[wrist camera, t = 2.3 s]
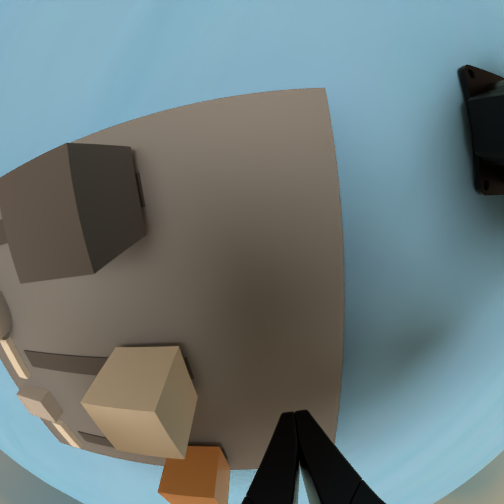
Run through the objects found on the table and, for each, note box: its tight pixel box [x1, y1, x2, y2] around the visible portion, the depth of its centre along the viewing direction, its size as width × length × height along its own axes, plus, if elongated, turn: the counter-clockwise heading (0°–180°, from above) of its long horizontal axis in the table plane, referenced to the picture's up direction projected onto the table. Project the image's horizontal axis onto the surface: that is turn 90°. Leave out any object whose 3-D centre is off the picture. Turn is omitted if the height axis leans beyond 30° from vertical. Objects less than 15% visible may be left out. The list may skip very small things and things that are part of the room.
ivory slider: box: [80, 346, 198, 459], centre depth 9 cm, size 3×3×4 cm
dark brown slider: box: [0, 143, 147, 284], centre depth 7 cm, size 3×3×4 cm
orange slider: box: [158, 446, 230, 504], centre depth 11 cm, size 3×3×4 cm
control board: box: [0, 88, 344, 470], centre depth 11 cm, size 22×20×4 cm
